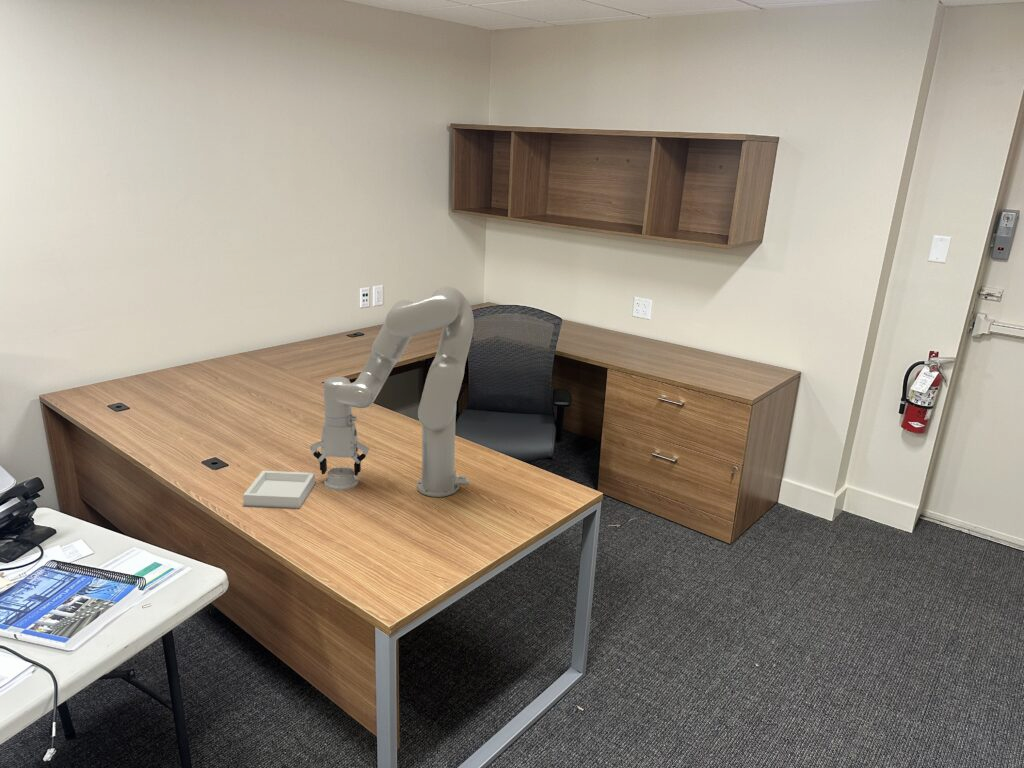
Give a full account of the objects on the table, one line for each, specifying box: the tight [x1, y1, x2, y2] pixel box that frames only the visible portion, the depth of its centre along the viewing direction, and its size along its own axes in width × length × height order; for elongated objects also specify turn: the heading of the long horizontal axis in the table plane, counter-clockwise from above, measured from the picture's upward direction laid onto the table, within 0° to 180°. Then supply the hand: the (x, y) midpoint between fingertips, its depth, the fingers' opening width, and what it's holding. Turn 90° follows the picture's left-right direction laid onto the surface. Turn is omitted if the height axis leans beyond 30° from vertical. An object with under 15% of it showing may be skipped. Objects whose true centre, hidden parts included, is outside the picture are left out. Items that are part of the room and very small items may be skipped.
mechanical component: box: [323, 465, 359, 491], centre depth 212 cm, size 10×4×10 cm
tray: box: [242, 470, 316, 509], centre depth 204 cm, size 15×15×3 cm
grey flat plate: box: [242, 481, 317, 510], centre depth 205 cm, size 16×17×1 cm
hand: (340, 473), depth 212 cm, fingers open, 9 cm apart
